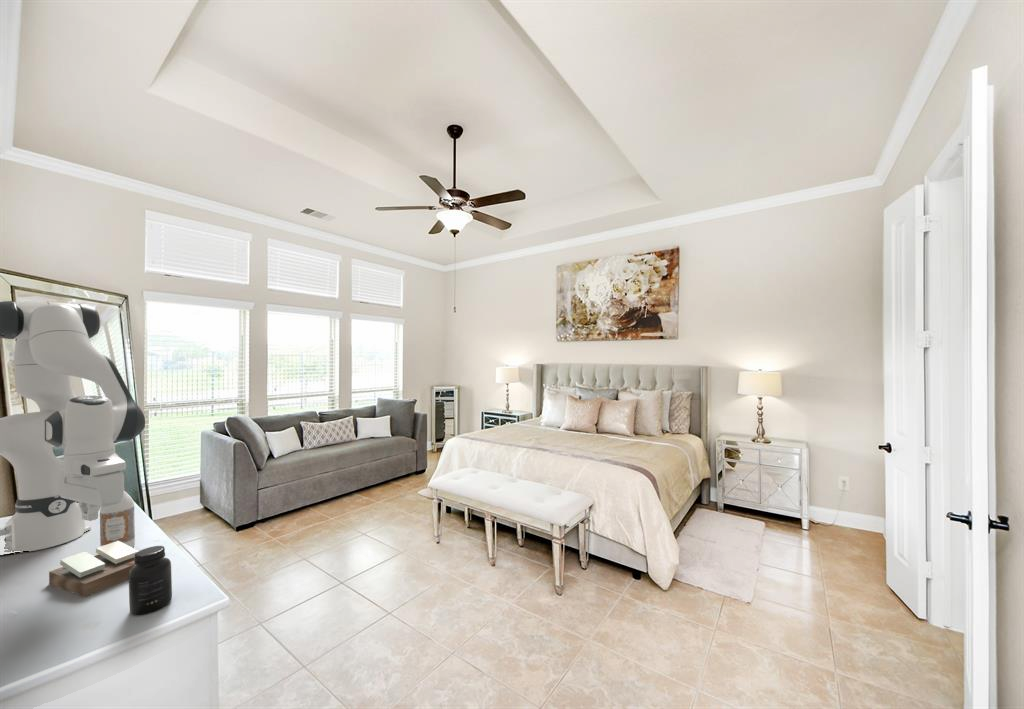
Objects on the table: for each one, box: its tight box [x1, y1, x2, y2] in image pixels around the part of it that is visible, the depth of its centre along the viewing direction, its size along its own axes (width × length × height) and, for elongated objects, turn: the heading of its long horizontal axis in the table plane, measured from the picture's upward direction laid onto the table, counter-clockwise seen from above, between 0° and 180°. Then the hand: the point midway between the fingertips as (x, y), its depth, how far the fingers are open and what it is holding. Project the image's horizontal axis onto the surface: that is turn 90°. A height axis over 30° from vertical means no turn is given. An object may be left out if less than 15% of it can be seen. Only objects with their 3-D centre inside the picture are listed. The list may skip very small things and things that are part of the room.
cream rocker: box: [95, 541, 139, 564], centre depth 103 cm, size 9×4×1 cm, turn 68°
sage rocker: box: [59, 550, 105, 578], centre depth 97 cm, size 9×4×1 cm, turn 68°
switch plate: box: [48, 554, 135, 598], centre depth 100 cm, size 16×12×4 cm
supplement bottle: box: [128, 545, 173, 617], centre depth 87 cm, size 7×7×12 cm
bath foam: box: [99, 490, 136, 548], centre depth 115 cm, size 7×7×20 cm
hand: (90, 519), depth 99 cm, fingers closed
